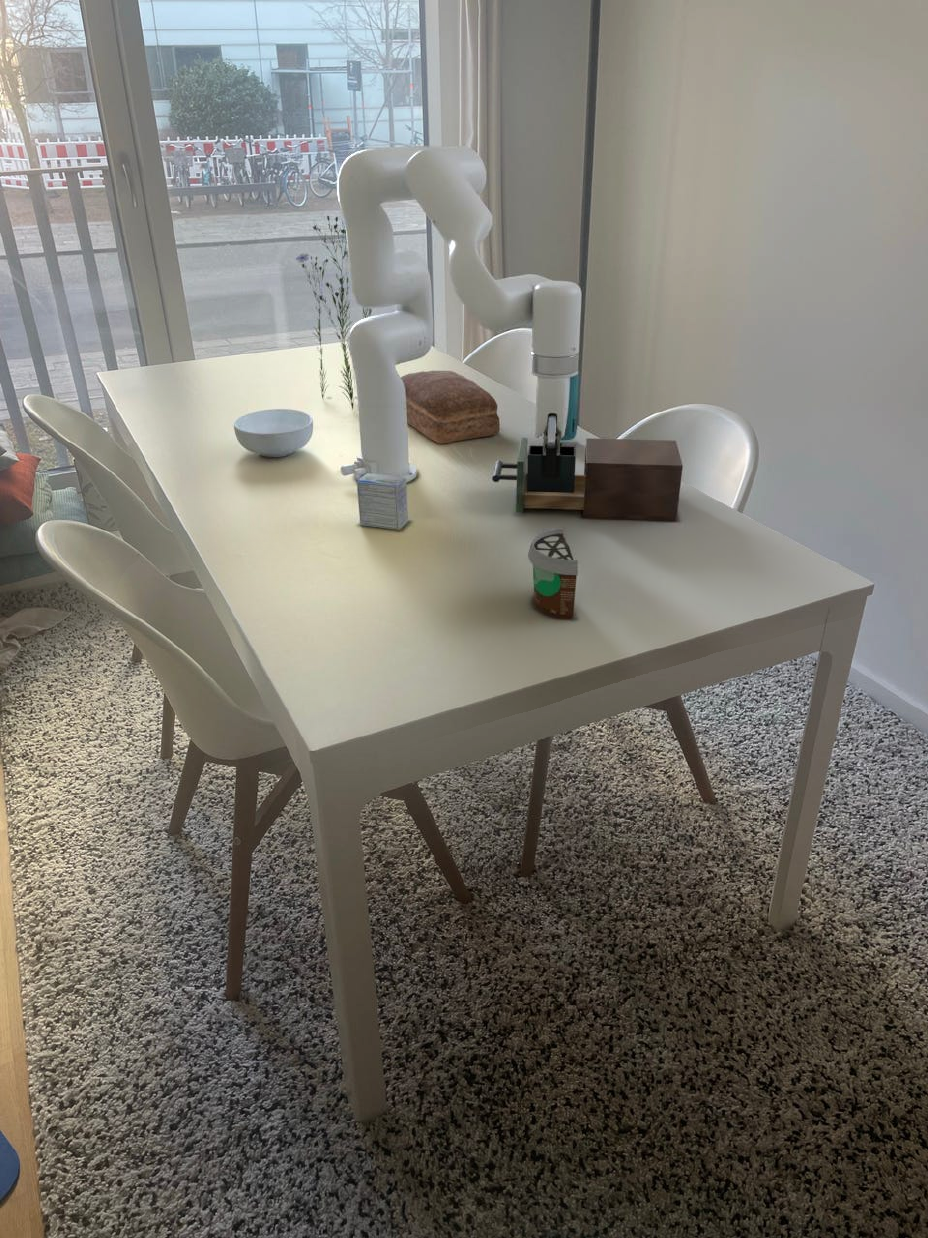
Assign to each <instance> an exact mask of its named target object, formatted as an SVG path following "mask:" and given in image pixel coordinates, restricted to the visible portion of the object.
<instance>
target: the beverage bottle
mask: <svg viewBox="0 0 928 1238" xmlns="http://www.w3.org/2000/svg"><path fill="white" fill-rule="evenodd" d="M579 376H580V373H579V371H578V374H577V375H575V376H573V377H570V391H569V405H568V415H567V422H566V429H565V434H564V437H563V438H561V440H560V441H572V440H574V439H576V437H577V433H578V418H579V417H578V411H579V403H578V402H579ZM557 436H558V435H557Z"/></svg>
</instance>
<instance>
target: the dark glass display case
mask: <svg viewBox="0 0 928 1238" xmlns="http://www.w3.org/2000/svg"><path fill="white" fill-rule="evenodd" d="M556 452H557V450H556ZM542 454H543V445H536V444H535V445H534V444H533V445H532V444H530V445H528V448H527V492H557V493H574V484H575V475H576V461H577V446H575V445H573V446H572V445H571V446H570V445H562V446H560V454H561V469H560V477H559V478H542V477H541V459H542Z"/></svg>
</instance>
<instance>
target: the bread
mask: <svg viewBox="0 0 928 1238" xmlns="http://www.w3.org/2000/svg"><path fill="white" fill-rule="evenodd" d="M400 377H401V379H402V381H403V383H404V386H405V392H406V410H407V424H408V425H410V426H412V427H413V428H414V429H416V430H417V432H419V433H420V434H422V435H424V436H425V437H427V438H428V439H430V440H431V441H433V442H435V443H437V444H447V443H454V442H459V441H464V440H470V439H478V438H485V437H491V436H494V435H498V434H499V432H500V429H501V427H500V423H501V422H500V417H499V415H498V404H497V401H496V400H495V398H494V396H492V394H491V393H490V392H488V391H487V390H485V389H484V388H483V387H481V386H480V385H479V384H477V383H476V382H475V381H473V380H471V379H468V378H466V377H465V376H464V375H462V374H459V373H457V372H455V371H452V370H428V371H418V372H409V373H407V374H405V375H402V376H400Z"/></svg>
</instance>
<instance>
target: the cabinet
mask: <svg viewBox="0 0 928 1238" xmlns="http://www.w3.org/2000/svg"><path fill="white" fill-rule="evenodd" d="M584 451H585V452H584V467H583V475H586V476H585V493H584V510H582V518H583V519H601V520H603V519H606V520H607V519H608V520H629V521H630V520H632V521H636V520H637V521H658V522H660V521H661V522H677V519H678V510H679V503H680V493H681V484H682V477H683V475H682V474H683V467H684V465H683V461H682V458H681V455H680V454H681V453H680V450H679V447H678V443H677V441H676V440H668V439H667V440H664V439H663V440H661V439H629V438H625V439H624V438H591V437H590V438H588V437H587V438H586V437H585V450H584Z"/></svg>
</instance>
